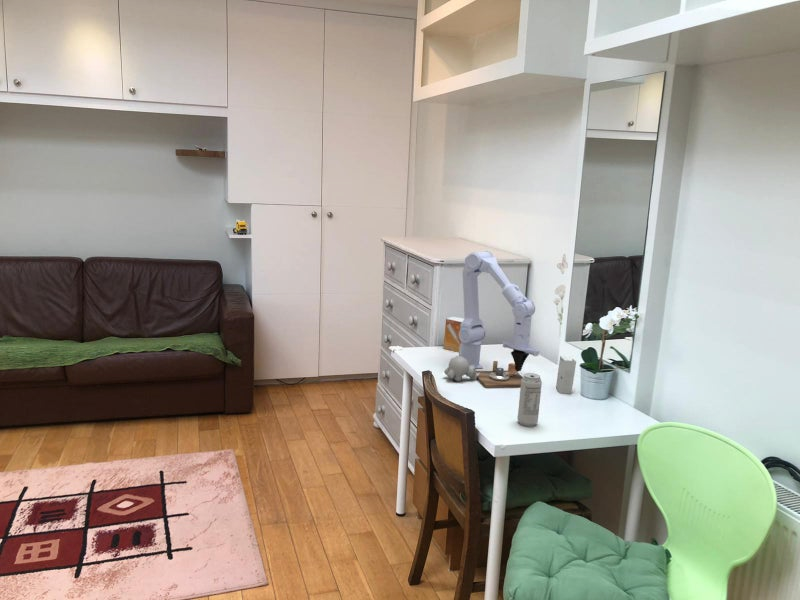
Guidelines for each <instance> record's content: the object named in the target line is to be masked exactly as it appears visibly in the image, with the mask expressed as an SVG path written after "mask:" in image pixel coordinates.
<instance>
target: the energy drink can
mask: <svg viewBox="0 0 800 600" xmlns="http://www.w3.org/2000/svg"><path fill="white" fill-rule="evenodd" d="M522 377H523V378H522V379H521V388H519V389H520V390H519V400H518V409H517V421H518V423H519V424H520V425H522V426H524V427H534V426H536V425H537V423H538V422H539V413H540V404H541V394H542V384H543V382H542V379H541V375H539V374H536V373H533V372H532V373H531V372H527V373H524V374H523V376H522Z"/></svg>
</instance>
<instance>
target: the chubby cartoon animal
mask: <svg viewBox="0 0 800 600" xmlns="http://www.w3.org/2000/svg"><path fill="white" fill-rule="evenodd" d="M477 369H478V368H477V367H474V365H472V366H469V363H468V361H467V360H466V359H465V358H464V357H462V356H459V355H457V356H454V357H453V358H451V359H449V363H448V367H447V368H445V370H444V374H445V375H446V376H447V377H448V378H450V379H454V380H455V381H456V382H462V379H463V378H462V377H464V376H466V377H468V378H469V379H470V380H471V381H475V380H477V379H476V378H477V377H478V376H479V373H478V374H477V373H476V371H477Z"/></svg>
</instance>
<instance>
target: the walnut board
mask: <svg viewBox="0 0 800 600" xmlns="http://www.w3.org/2000/svg"><path fill="white" fill-rule="evenodd" d="M498 363H499V362H498V360H493V363H492V370H476V373H477V374H478V373H479V376H478V377H477V378H476V379H475V380H476V381H477V382H479V383H480V385H482V386H483V388H484V389H520V388H521V379H522V378H523V377H524V376H522V375H521V374H520V373H519V372H518V373H517V374H516V375H513V376H509V379H508V380H495V379H492V378H490V377H489V376H490V373H492V372H496V368H498V365H499V364H498ZM504 372H508V370H504ZM504 372H503V373H504Z"/></svg>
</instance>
